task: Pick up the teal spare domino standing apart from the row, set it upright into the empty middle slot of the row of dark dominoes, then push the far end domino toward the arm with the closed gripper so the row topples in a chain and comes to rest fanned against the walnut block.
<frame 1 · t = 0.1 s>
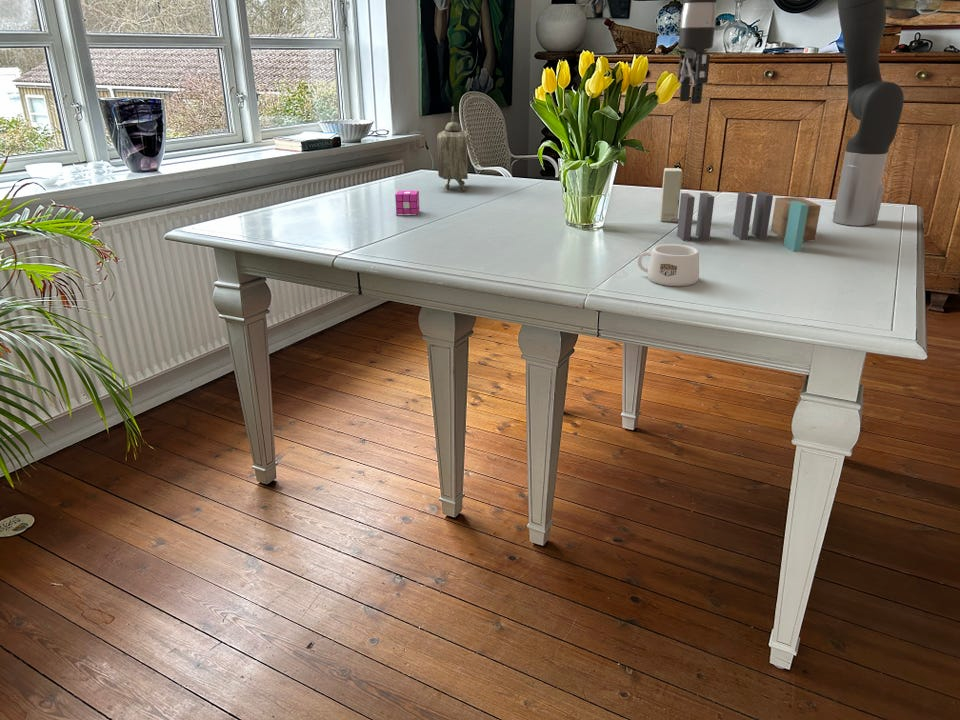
hand: (689, 102, 166), 29 cm above the table, tool pointing down, fingers open, 8 cm apart
box: (668, 220, 185), on the table
domino 5: (683, 238, 167), on the table
domino 1: (758, 236, 168), on the table
puzzle toy: (408, 214, 196), on the table
domino 2: (739, 236, 168), on the table
mug: (666, 280, 139), on the table
domino 4: (702, 237, 167), on the table
end block: (792, 235, 168), on the table
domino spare: (792, 248, 158), on the table
tabletop clock: (453, 189, 228), on the table
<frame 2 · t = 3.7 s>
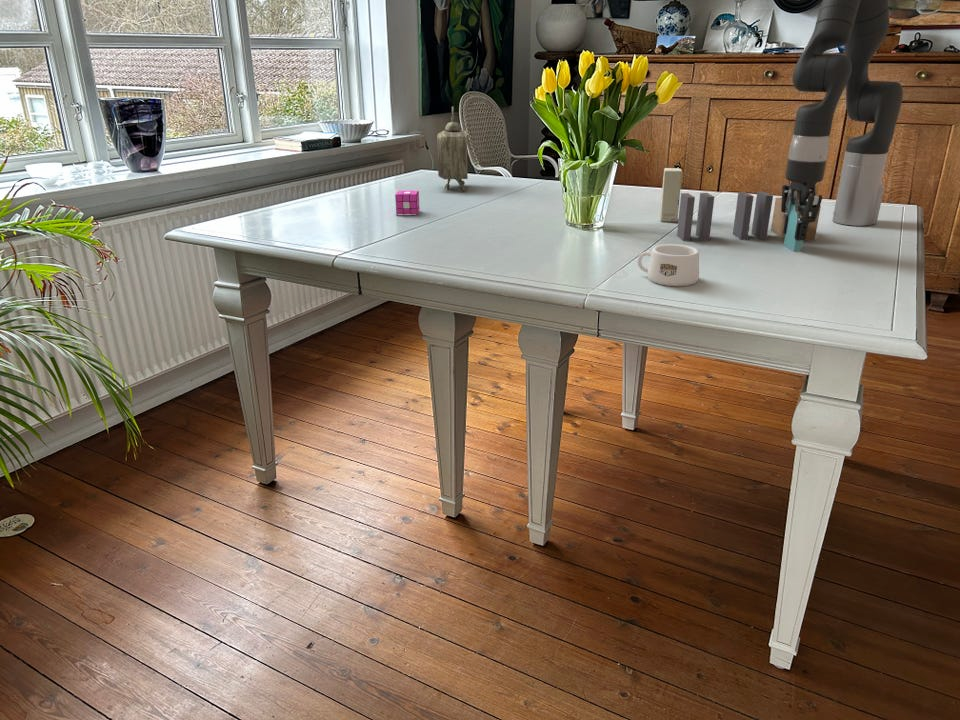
hand: (794, 236, 157), 3 cm above the table, tool pointing down, fingers closed on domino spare, 5 cm apart
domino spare: (792, 248, 158), on the table, touching gripper
everything else where it was.
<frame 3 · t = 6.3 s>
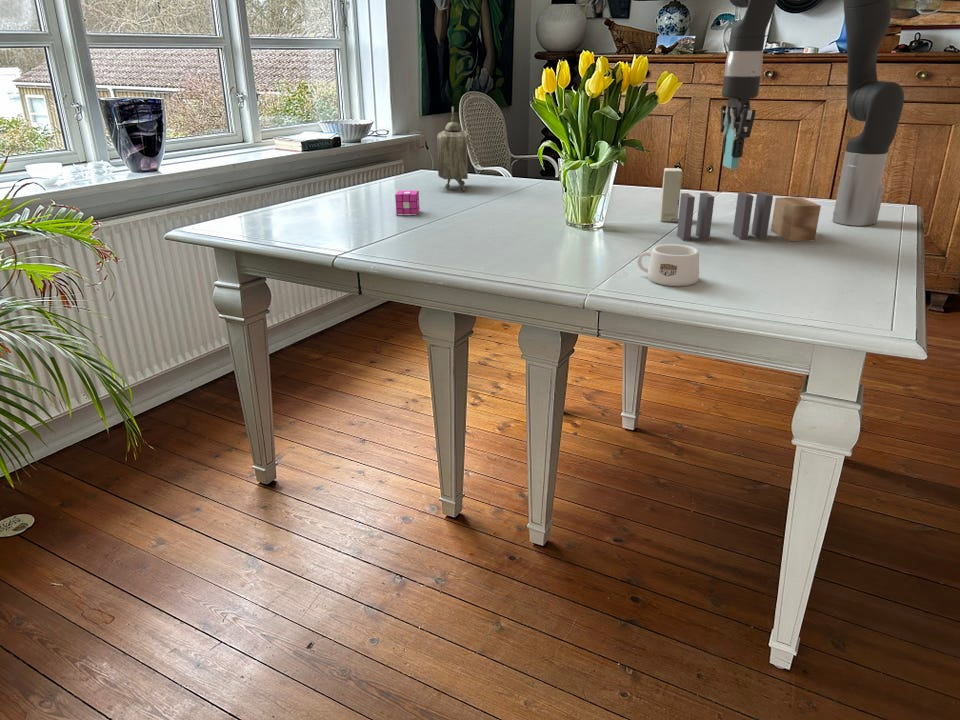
hand: (731, 155, 160), 19 cm above the table, tool pointing down, fingers closed on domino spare, 5 cm apart
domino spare: (730, 167, 161), point 16 cm above the table, touching gripper
everything else where it was.
when the fingers open (3 cm above the table, at t = 9.1 s): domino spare stays where it is, on the table.
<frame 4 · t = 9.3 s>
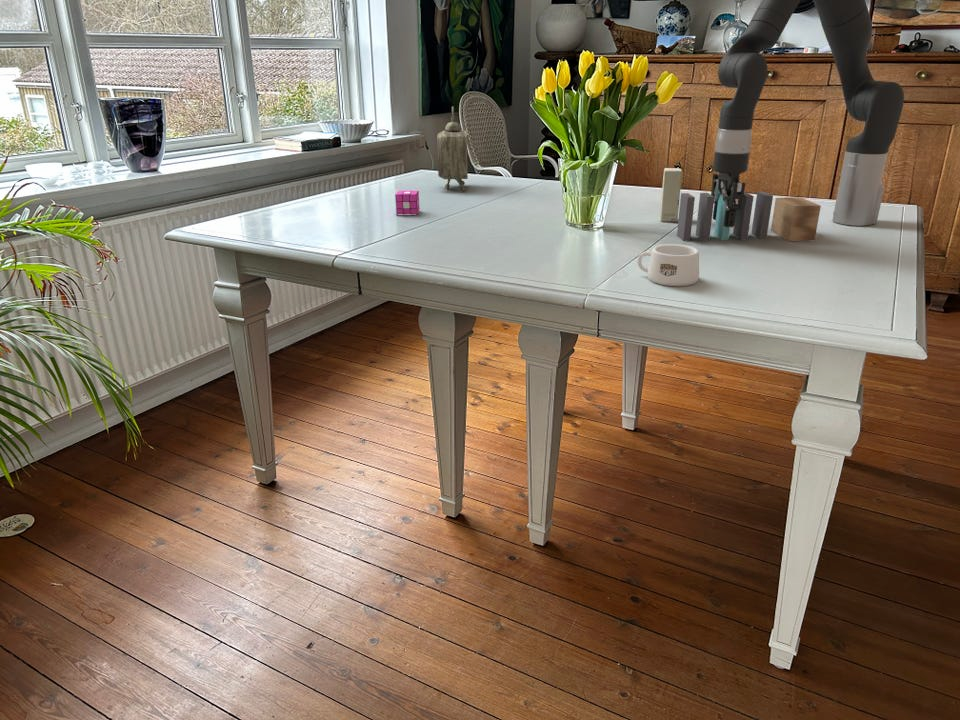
hand: (722, 223, 166), 3 cm above the table, tool pointing down, fingers open, 6 cm apart
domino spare: (720, 237, 168), on the table
everything else where it was.
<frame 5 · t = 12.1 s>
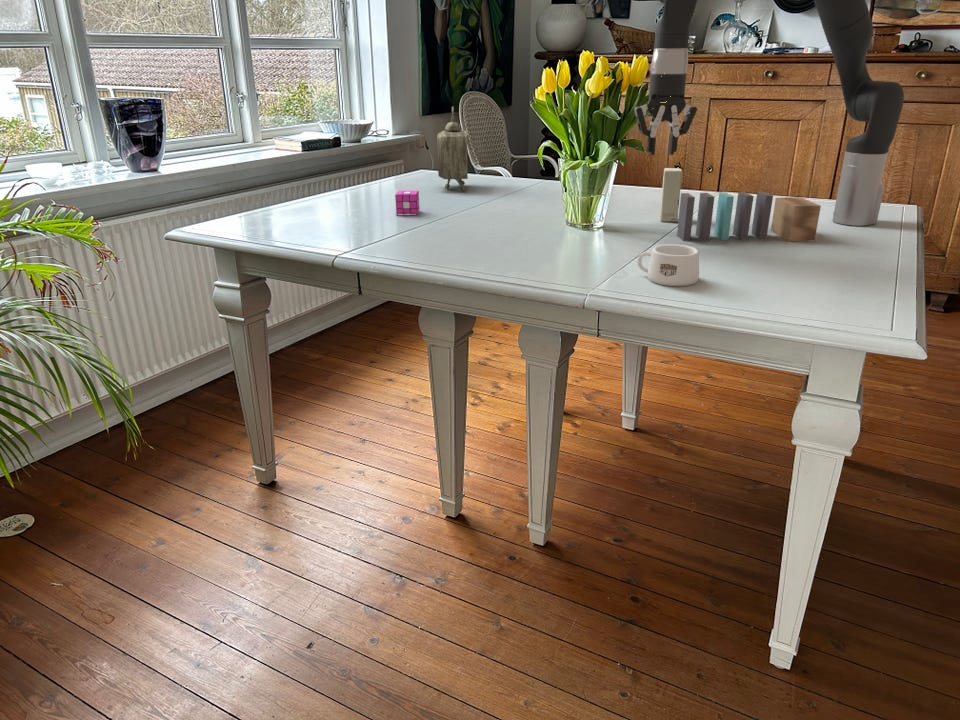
hand: (661, 154, 159), 19 cm above the table, tool pointing down, fingers open, 3 cm apart
nothing on the table moved.
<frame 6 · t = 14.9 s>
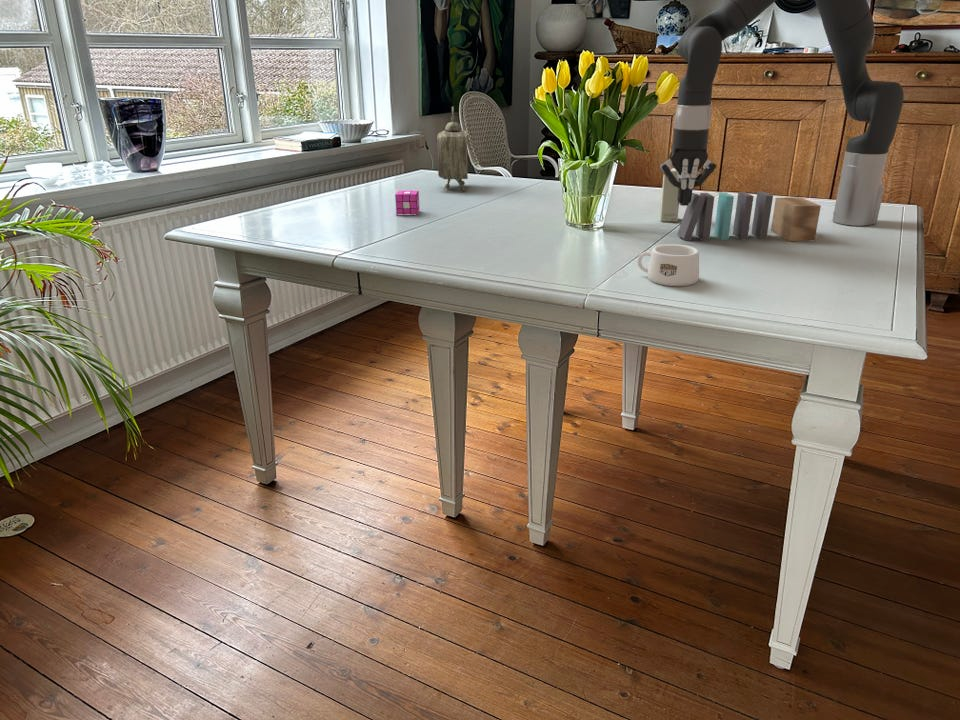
hand: (683, 204, 164), 8 cm above the table, tool pointing down, fingers closed
domino 5: (683, 237, 167), on the table, tilted 14°
everything else where it was.
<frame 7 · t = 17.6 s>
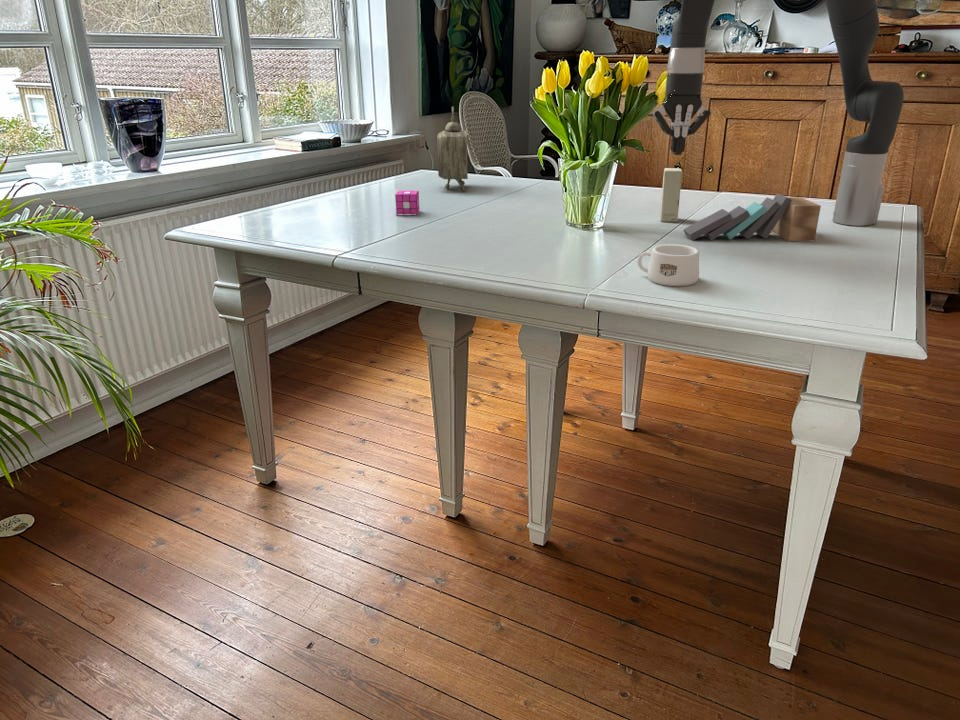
hand: (677, 154, 159), 19 cm above the table, tool pointing down, fingers closed
domino 5: (687, 234, 167), point 1 cm above the table, tilted 62°, touching domino 4
domino 1: (759, 234, 168), on the table, tilted 28°, touching domino 2, end block
domino 2: (741, 234, 168), point 1 cm above the table, tilted 40°, touching domino 1, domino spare
domino 4: (706, 234, 167), point 1 cm above the table, tilted 57°, touching domino 5, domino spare
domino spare: (724, 234, 167), point 1 cm above the table, tilted 50°, touching domino 2, domino 4
everything else where it was.
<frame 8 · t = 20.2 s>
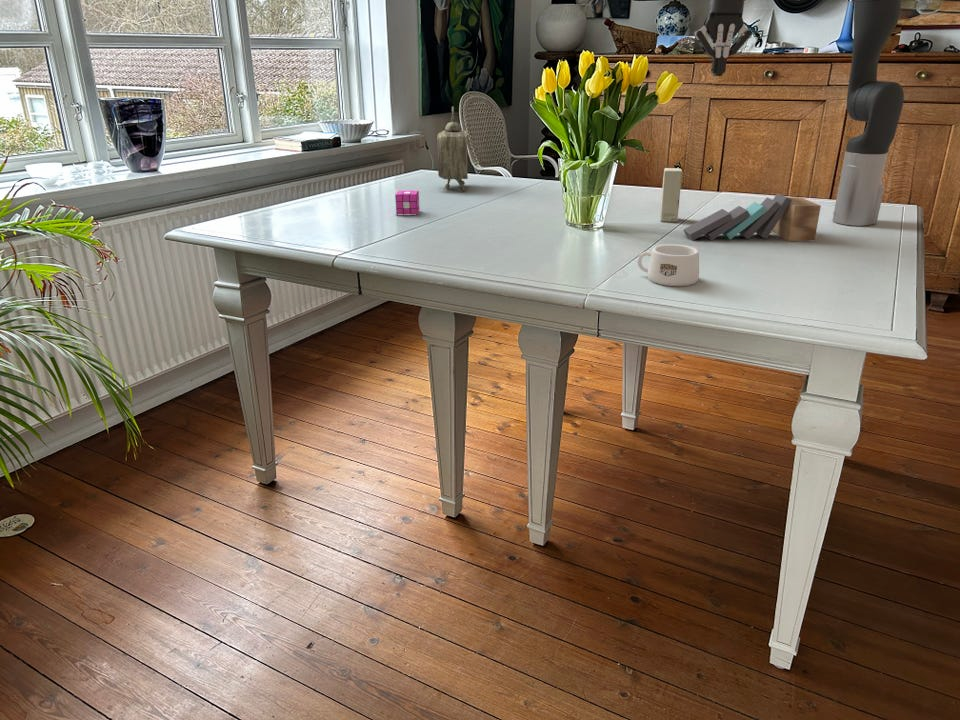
hand: (717, 75, 162), 35 cm above the table, tool pointing down, fingers closed
nothing on the table moved.
at the end: domino 1 tilted 28°; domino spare tilted 50°; domino 5 tilted 62° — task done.
